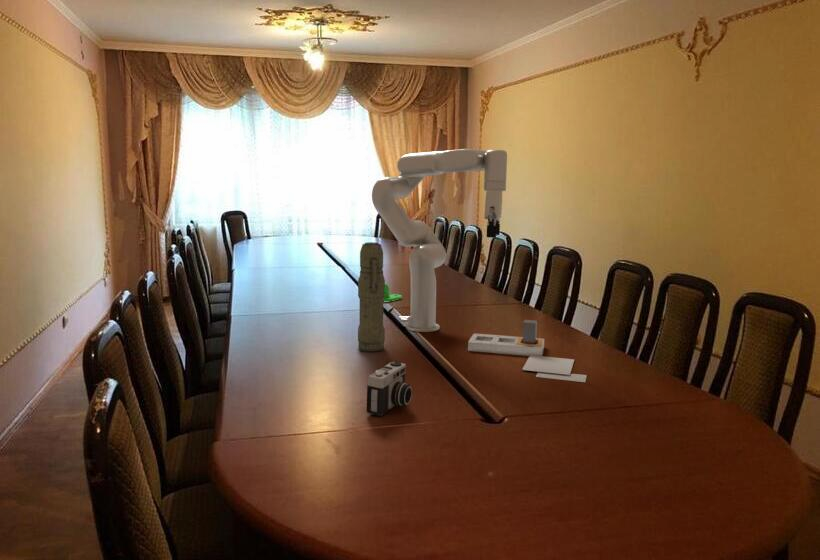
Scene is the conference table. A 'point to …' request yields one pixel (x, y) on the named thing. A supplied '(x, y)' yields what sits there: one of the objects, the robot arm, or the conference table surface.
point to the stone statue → (371, 298)
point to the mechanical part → (390, 297)
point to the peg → (529, 331)
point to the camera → (387, 389)
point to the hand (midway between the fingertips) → (493, 236)
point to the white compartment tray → (504, 345)
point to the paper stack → (553, 368)
